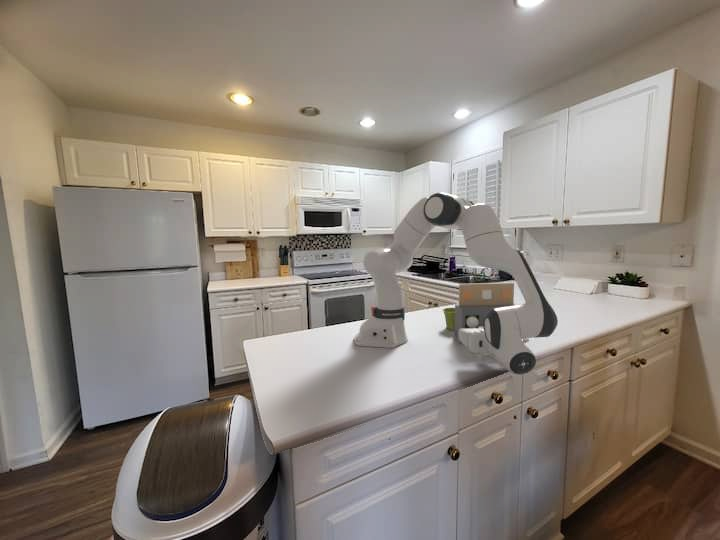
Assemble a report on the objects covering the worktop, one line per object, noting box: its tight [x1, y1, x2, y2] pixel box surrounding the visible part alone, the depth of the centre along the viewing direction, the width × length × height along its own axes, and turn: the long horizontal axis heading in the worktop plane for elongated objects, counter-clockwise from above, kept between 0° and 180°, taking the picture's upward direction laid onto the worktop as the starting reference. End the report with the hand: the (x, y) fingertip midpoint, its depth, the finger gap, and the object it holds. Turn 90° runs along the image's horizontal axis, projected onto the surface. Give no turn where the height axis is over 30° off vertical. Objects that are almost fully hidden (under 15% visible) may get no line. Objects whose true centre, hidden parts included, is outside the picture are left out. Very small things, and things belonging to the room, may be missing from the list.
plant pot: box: [442, 307, 455, 331], centre depth 137 cm, size 9×9×9 cm
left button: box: [465, 315, 479, 328], centre depth 117 cm, size 4×4×4 cm
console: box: [454, 282, 517, 345], centre depth 121 cm, size 24×10×23 cm, turn 88°
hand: (482, 328), depth 107 cm, fingers closed
